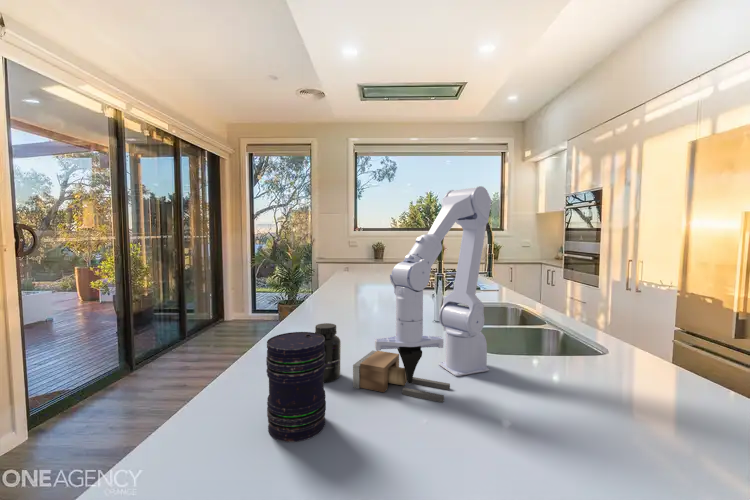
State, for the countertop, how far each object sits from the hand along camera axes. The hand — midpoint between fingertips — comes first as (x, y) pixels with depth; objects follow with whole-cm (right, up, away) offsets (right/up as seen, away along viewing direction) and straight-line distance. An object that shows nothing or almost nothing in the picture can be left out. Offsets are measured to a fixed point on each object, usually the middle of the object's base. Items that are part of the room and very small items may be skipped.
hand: (408, 381), depth 73 cm
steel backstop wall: (-9, -1, +4) cm, 10 cm away
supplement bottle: (-19, -2, +6) cm, 20 cm away
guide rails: (+4, -2, -1) cm, 4 cm away
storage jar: (-21, -2, -14) cm, 25 cm away
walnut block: (-6, -1, +3) cm, 7 cm away
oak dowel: (-4, -1, +2) cm, 5 cm away
